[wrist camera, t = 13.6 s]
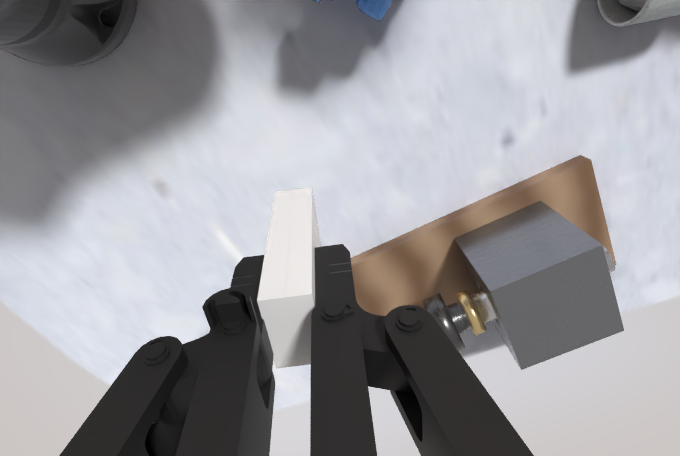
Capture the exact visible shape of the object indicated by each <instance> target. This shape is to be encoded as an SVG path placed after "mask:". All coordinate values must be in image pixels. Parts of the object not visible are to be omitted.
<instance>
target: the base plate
mask: <svg viewBox="0 0 680 456" xmlns="http://www.w3.org/2000/svg"><path fill="white" fill-rule="evenodd" d="M540 200H541V201H542V202H543V203H545V204H546V205H548V206H549V207H550V208H552V209H553V210H555V211H556V212H557V213H559V214H560V215H562V216H563V217H564V218H566V219H567V220H569V221H570V222H571V223H573V224H574V225H576V226H577V227H578V228H580V229H581V230H583V231H584V232H585V233H587V234H588V235H590V236H591V237H592V238H594V239H595V240H597V241H598V242H599V243H601V244H602V245H603V246H604V247H605V248H606V249H607V250H608V252H609V253H610V255H611V256H612V258H613V261H614V263H615V265H616V261H615V257H614V253H613V249H612V245H611V241H610V237H609V233H608V228H607V224H606V220H605V216H604V212H603V208H602V204H601V199H600V195H599V191H598V187H597V183H596V179H595V175H594V170H593V166H592V162H591V160H590V159H588V158H585V157H583V156H581V155H580V156H577V157H575V158H573V159H571V160H568V161H566V162H564V163H562V164H560V165H557V166H555V167H553V168H551V169H548V170H546V171H544V172H542V173H539V174H537V175H535V176H533V177H531V178H528V179H526V180H524V181H522V182H519V183H517V184H515V185H513V186H511V187H508V188H506V189H504V190H502V191H499V192H497V193H495V194H493V195H491V196H488V197H486V198H484V199H482V200H479V201H477V202H475V203H473V204H470V205H468V206H466V207H464V208H462V209H459V210H457V211H455V212H453V213H450V214H448V215H446V216H444V217H442V218H439V219H437V220H435V221H433V222H430V223H428V224H426V225H424V226H422V227H419V228H417V229H415V230H413V231H410V232H408V233H406V234H404V235H401V236H399V237H397V238H395V239H393V240H390V241H388V242H386V243H384V244H381V245H379V246H377V247H375V248H373V249H370V250H368V251H366V252H364V253H361V254H359V255H357V256H355V257H353V258H350V259H351V266H352V273H353V281H354V288H355V295H356V300H357V303H358V305H359V306H360V307H361V308H362V309H363V310H365V311H366V312H369V313H371V314H375V315H381V316H386V315H387V314H388V313H389V312H390V311H391V310H392V309H394V308H397V307H399V306H404V305H413V306H419V307H421V308H423V309H425V307H424V305H423V302H422V300H424V299H426V298H429V297H431V296H433V295H436V294H438V293H440V294H441V296H442V298H443V300H444V303H445V305H446V306H448V305H450V304H452V303H455V302H457V301H458V300H457V298H456V295H455V294H456V293H458V292H460V291H463V290H465V289H466V290H467V291H468V293H469V294H470V296H472V295H474V294H476V293H477V292H476V290H475V288H474V285H473V283H472V280H471V278H470V276H469V273H468V271H467V268H466V266H465V264H464V261H463V259H462V256H461V254H460V251H459V249H458V247H457V244H456V242H455V239H454V238H456V237H458V236H460V235H463V234H465V233H467V232H470V231H472V230H474V229H476V228H479V227H481V226H483V225H485V224H488V223H490V222H492V221H495V220H497V219H499V218H501V217H504V216H506V215H508V214H510V213H513V212H515V211H517V210H520V209H522V208H524V207H526V206H529V205H531V204H533V203H535V202H538V201H540Z"/></svg>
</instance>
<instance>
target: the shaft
mask: <svg viewBox="0 0 680 456" xmlns="http://www.w3.org/2000/svg"><path fill="white" fill-rule="evenodd" d="M603 249H604V253H605V257H606V261H607V264H608V268H609V272H612V271H614V270H615V263H614V261H613V258H612V256H611V255H610V253H609V252H608V250H607V249H606V248H605V247H604V246H603ZM455 295H456V298H457V300H458V301H457V302H455V303H452V304H450V305H448V306H446V305H445V303H444V300H443V298H442V296H441V294H440V293H438V294H436V295H433V296H431V297H429V298H426V299H424V300H422V302H423V305H424V307H425V309H426V310H427V311H428V312H429V313H430V314H431V315H432V316H433V317H434V319H435V320H436V322H437V323H438V324H439V326H440V327H441V328H442V330H443V331H444V333H445V334H446V335H447V337H448V338H449V339H450V341H451V342H452V344H453V345H454V346H455V348H456V349H457V351H459V350H461V349H464V348H465V346H464V344H463V341H462V339H461V337H460V335H459V333H462V332H464V331H466V330H469V329H472V331H473V333H474V335H475V336H476V335H479V334H481V333H484V332H486V328H485V325H484V323H486V322H489V321H491V320H494V319H496V315H495V313H494V310H493V308H492V305H491V303H490V301H489V299H488V298H487V296H486V295H485V293H484V292H483V291H481V292H479V293H476V294H474V295H472V296H470V294H469V293H468V291H467V290H466V289H465V290H463V291H460V292H458V293H456V294H455Z"/></svg>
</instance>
